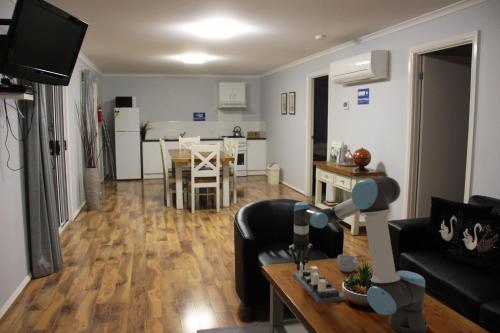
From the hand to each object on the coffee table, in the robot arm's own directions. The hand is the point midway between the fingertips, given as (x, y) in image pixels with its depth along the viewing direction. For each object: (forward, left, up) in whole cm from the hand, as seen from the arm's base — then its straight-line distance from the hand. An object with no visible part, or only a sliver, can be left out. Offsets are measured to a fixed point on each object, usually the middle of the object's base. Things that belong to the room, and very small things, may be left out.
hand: (300, 276), depth 208 cm
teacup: (+11, -34, -6) cm, 36 cm away
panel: (-4, -8, -5) cm, 10 cm away
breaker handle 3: (-8, -5, -1) cm, 9 cm away
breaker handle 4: (-16, -5, -1) cm, 17 cm away
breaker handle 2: (0, -8, -1) cm, 8 cm away
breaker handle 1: (+8, -5, -1) cm, 9 cm away
